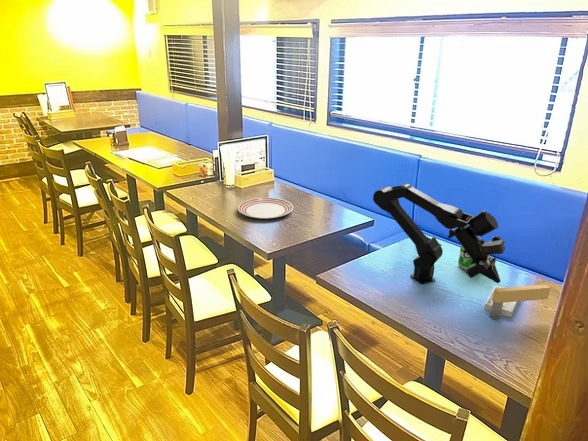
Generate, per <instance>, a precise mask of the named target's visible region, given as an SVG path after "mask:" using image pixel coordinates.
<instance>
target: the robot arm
mask: <svg viewBox="0 0 588 441" xmlns="http://www.w3.org/2000/svg"><path fill="white" fill-rule="evenodd" d="M372 197H373V198H372V201H373V202H374V203H375V205H376V206H378V207H379V209H380V210H382V211H385V212H386V213H388V214H390V216H391V217H392V219H393V220H394V221H395V222H396V224H398V225H399V227H400V228H401V229H402V231H403V232H404V233H405V235H406V236H407V237H408V239H410V240H411V242H412V243H413V244H414V245H415V249H416V253H417V256H416V257H415V258H414V259H413V260H412V262H413V266H414V267H413V274H410V276H409V277H410V278H412V279H413V280H415V281H416V282H417V283H419V284H420V285H424V284H427V283H431V282H436V278H434V273H435V264H436V263H437V261H439V259H440V258H441V257H442V256H443V252H444V250H443V248H442V245H443V244H441V243H440V242H439V241H438V240H437V238H436V237H435V236H432V238H430V237H428V236H427V235H425V233H424V232H423V230H421V228H420V227H419V226H418V225H417V224H416V222H415V221H414V220H413V219H412V218H411V216H410V215H409V214H408V212H406V210H405V209H404V208H403V207H402V205H401V204H400V200H399V199H403V198H404V199H406V200H408V201H409V202H410V203H412V204H414V205H415V206H417V207H419V208H421V209H423V210H424V211H426V212H427V213H429V214H431V215H432V216H433V217H434V218H435V219H436V221H437V222H438V223H440V224H441V225H442V226H443V227H445V229H448V236H447V238H448V239H451V238H456V241H458V242H459V244H460V246H461V245H462V247H463V248H464V251H463V252H464V254H465V253H467V254H468V255H469V257H470V258H471V259H472V260H471V261H470V262H471V263H472V265H470V266H469V268H468V269H467V270H466V274H467V276H468V277H469V278H470V279H472V278H474V277H475V276H478V275H481V276H484V277H486V278H487V279H488V280H489V279H490V280H491V281H493V282H495V283H496V284H499V283H501V278H500V275H499V271H498V270H497V266H496V262H497V260H498V259H497V257H498V256H495V257H492V255H496V254H497V255H502V254H504V251H505V250H506V247H505V243H506V242H505V240H504V239H503V238H501V237H500V236H499V235H493V237H492V239H491V240H489V241H487V242H486V241H485V240H484V239H482V238H481V239H480V240H479V238H480V237H483V236H485V235H487V234H489V233H491V232H493V231H495V230H497V229H498V228H499V224H498V221H497V220H496V218H495V217H494V215H492V214H491V213H489V212H487V210H486V209H484V210H482V211H481V212H479V213H478V214H477V215H475V216H474V215H472V214H469V213H466V212H464V211H463V210H462V209H461V208H459V207H457V206H453V205H450V204H445V203H442V202H440V201H437V200H436V199H434V198H432V197H431V196H429V195H428V194H426V193H424V192H422V191H420V190H419V189H416V188H415V187H414V186H412V184H409V183H404V184H400V185H395V186H392V187H391V186H387V185H386V186H383V187H381V188H380V189H378V190H376V191H375V192H374V193H373V195H372ZM478 237H479V238H478Z"/></svg>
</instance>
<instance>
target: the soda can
mask: <svg viewBox="0 0 588 441" xmlns="http://www.w3.org/2000/svg"><path fill="white" fill-rule="evenodd" d="M477 237H478V238H479V240H480V239H482V238H481V237H480V236H477ZM463 251H464V248H463V247H462V245H461V244H460V250H459V254H458V255H459V256H458V262H457V263H458V264H457V265H458V266H459V267H460V269H462V270H463V271H467V269H468V268H469V266H470V265H472V263H471V262H470V261H471V260H472V259H471V258H470V257H469V255H468V254H467V253H465V254H464V252H463Z"/></svg>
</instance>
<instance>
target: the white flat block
mask: <svg viewBox="0 0 588 441" xmlns="http://www.w3.org/2000/svg"><path fill="white" fill-rule="evenodd" d="M493 287H494V288H492V289H493V290H492V291H491V292H490V294H489V296H488V297H487V299H486V301H485V303H484V306H483V310H486V311H489V312H491V309H492V304H493V300H492V298H493V294H494V289H495V288H503V287H501V286H497V285H495V286H493ZM518 303H519V301H517V302H505V303H503V306H502V310H501V315H502V316H504V317H508V318H512V315H513V314H514V312H515V309H516V307H517V304H518ZM501 315H500V316H501Z"/></svg>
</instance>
